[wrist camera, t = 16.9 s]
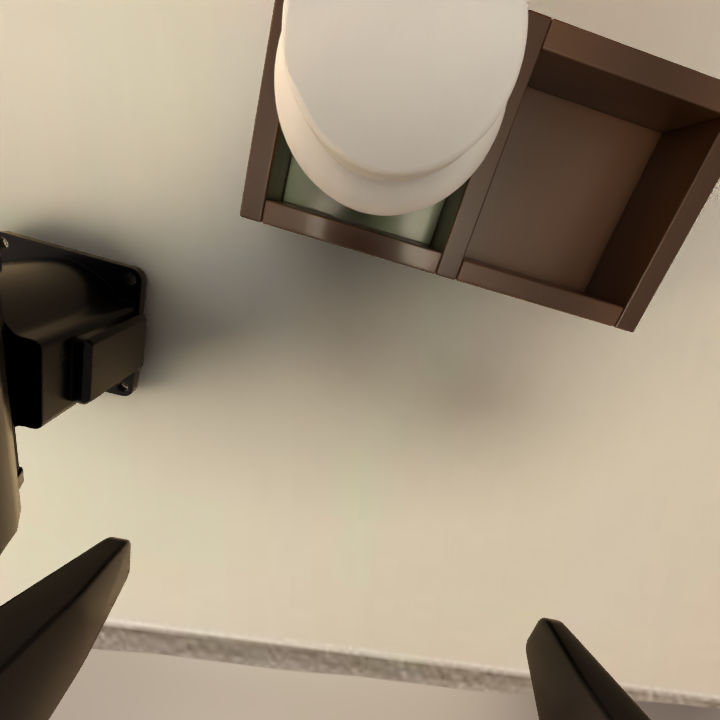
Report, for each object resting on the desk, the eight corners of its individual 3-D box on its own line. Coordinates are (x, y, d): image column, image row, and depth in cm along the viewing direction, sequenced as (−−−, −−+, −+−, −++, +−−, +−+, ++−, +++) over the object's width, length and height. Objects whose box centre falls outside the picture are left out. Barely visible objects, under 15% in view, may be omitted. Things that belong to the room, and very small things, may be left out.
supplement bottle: (323, 41, 14) (252, -264, 5) (466, 77, 15) (639, -150, 5) (301, 198, 16) (220, 181, 7) (428, 226, 16) (508, 245, 7)
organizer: (262, 215, 17) (238, 216, 14) (304, -14, 14) (287, -81, 11) (585, 311, 18) (633, 333, 15) (681, 119, 16) (766, 95, 12)
